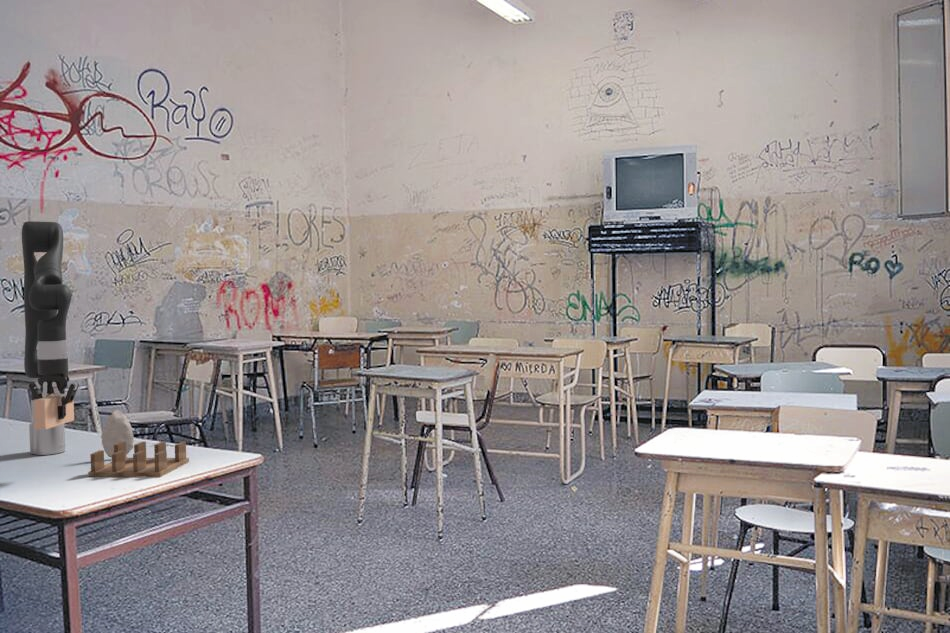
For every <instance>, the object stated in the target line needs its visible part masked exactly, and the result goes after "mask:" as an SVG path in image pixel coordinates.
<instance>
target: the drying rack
mask: <svg viewBox="0 0 950 633" xmlns="http://www.w3.org/2000/svg"><path fill="white" fill-rule="evenodd" d="M153 447H154V450H153V451H154V455H153V456H154V457H147V442H146V441H140V442H138V443H135V444H133V451H134V453H133V454H132V457H127V456H128V454H126V442H125V441H122V442H120V443H117V444H115V445H114V453H113V454H112V458H111V461H110V462H108V463H105V454H104V453H105V450H104V449H103V450H101V449H100V450H98V451H95V452H92V453H90V470H89V471H88V472H87V477H99V478H100V477H103V478H104V477H105V478H106V477H109V478H110V477H116V478H118V477H121V478H125V477H126V478H127V477H128V478H129V477H130V478H131V477H132V478H133V477H135V478H138V477H137V476H146V477H145V478H161V477H163V476H165V475H167V474H168V473H171V472H172V471H174V470H177V469H178V468H180V467H182V466H184V465H186V464H188V463H189V462H190V457H187V442H186V441H180V442H179V443H176V444H175V445H174V457H167V455H168V454H167V453H168V452H167V442H166V441H160V442H158V443H155V444H154V445H153Z"/></svg>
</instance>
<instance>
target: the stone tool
mask: <svg viewBox="0 0 950 633" xmlns="http://www.w3.org/2000/svg"><path fill="white" fill-rule="evenodd" d="M100 438H101V445H102V448H103V450H104V453H105V454H106V455H107V457H109V458H111V459H112V454H113V453H114V445H115V444H117V443H120V442H122V441H125V442H126V455H129V453H130V451H132V450H134V439H135V437H134V433H133V428H132V425H131V423H130V421H129V420H128V417H127V416H126V415H125V414H123V412H122V411H121V410H119V409H115V410H114V411H113V412H112V413H111V414H110V416H109V417H108V418H107V419H106V420H105V422H104V426H103V430H102V432H101V436H100Z"/></svg>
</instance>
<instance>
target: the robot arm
mask: <svg viewBox="0 0 950 633" xmlns="http://www.w3.org/2000/svg"><path fill="white" fill-rule="evenodd" d="M21 245H22V246H21V247H22V258H23V273H24V274H23V276H24V279H23V282H24V287H23V303H24V304H23V305H24V306H23V308H24V310H23V311H24V323H25V325H24V326H25V333H24V334H25V335H24V336H25V337H24V338H25V339H24V340H25V341H24V342H25V343H24V358H23V360H24V361H23V363H24V364H23V366H24V373H25V376H26V377H27V378H28V379H37V381H35V382H33V383H32V382H31V383H29V384H28V388H29V390H30V399H31V400H30V406H31V423H29V424H28V428H29V432H28V433H29V451H30V452H29V454H31V455H32V454H33V455H36V456H37V455H38V456H42V455H43V456H45V455H49V456H50V455H56V454H60V453H61V454H62V453H64V452H66V437H65V436H66V431H65V428H66V426H65V423H64V424H61V425H58V426H55V427H52V428H49V429H46V430H45V429H35V415H34V400H35V399H39V398H43V397H48V396H52V395H55V397H56V398H57V403H58V406H57V407H58V419H64V417H65V416H66V404H68V403H71V402H73V399H75V397H76V394H77V391H78V389H79V387H80V384H79V383H78V382H73V381H71V380H70V378H69V352H68V345H67V344H68V343H67V330H66V329H67V327H66V326H67V325H66V324H67V317H68V313H69V309H70V306H71V302H72V296H73V295H72V290H71V289H70V287H69V286H68V285H66V284H63V273H62V261H63V256H64V255H63V253H64V252H63V251H64V231H63V228H62V225H61V224H60V223H59V222H54V221H33V220H32V221H29V220H27V221H25V222H24V223H22V227H21ZM35 253H45V254H43V255H42V256H41V257H39V259H38V260H37V259H36V254H35ZM66 389H67V394H66ZM60 393H61V394H60Z"/></svg>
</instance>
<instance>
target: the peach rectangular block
mask: <svg viewBox="0 0 950 633" xmlns="http://www.w3.org/2000/svg"><path fill="white" fill-rule="evenodd" d="M67 392H68V391H67ZM67 392H66V394H67ZM60 394H61V393H60ZM74 399H75V398H74ZM74 399H73V402H71V403H68V404H66V416H65V417H64V419H58V407H57V406H58V403H57V398H56V397H55V395H52V396H48V397H43V398H39V399H35V400H34V415H35V429H45V430H46V429H49V428H52V427H55V426H58V425H61V424H64V425H65V424H67V423H70V422H72V421H73V422H74V421H75V404H74Z"/></svg>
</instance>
